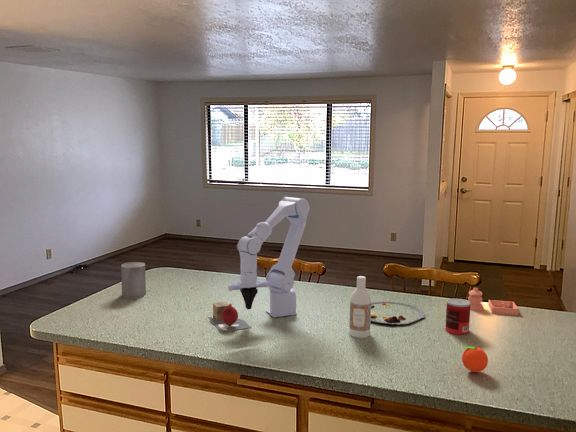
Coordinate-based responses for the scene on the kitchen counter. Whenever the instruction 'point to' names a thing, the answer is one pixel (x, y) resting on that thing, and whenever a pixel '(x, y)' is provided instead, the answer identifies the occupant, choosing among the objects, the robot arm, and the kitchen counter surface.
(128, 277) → the pillar candle
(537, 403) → the kitchen counter surface
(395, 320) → the food plate
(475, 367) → the clementine
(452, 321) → the canned food
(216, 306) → the walnut block
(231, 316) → the onion
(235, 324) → the letter mat
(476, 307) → the pottery
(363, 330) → the bath foam
